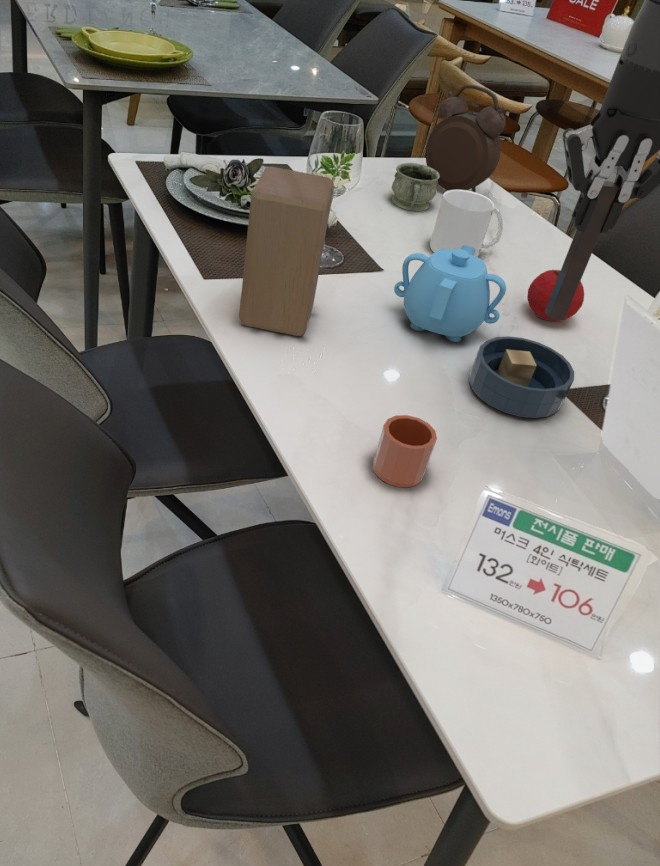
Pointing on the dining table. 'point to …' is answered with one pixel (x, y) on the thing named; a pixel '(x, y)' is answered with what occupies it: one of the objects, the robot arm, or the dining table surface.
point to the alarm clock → (465, 142)
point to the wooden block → (284, 249)
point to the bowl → (514, 398)
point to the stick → (579, 255)
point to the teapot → (449, 292)
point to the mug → (464, 221)
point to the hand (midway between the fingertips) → (589, 228)
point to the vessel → (414, 186)
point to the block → (517, 366)
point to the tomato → (542, 292)
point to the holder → (404, 450)
